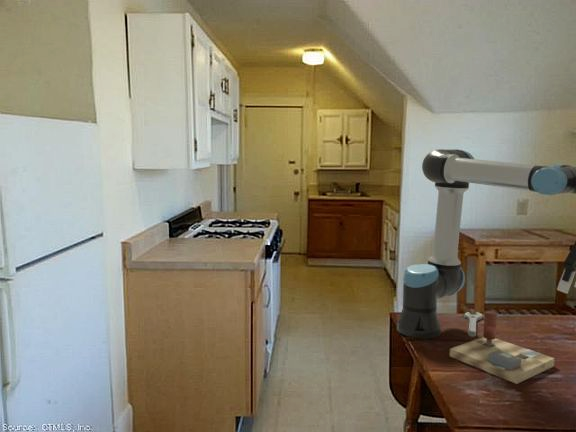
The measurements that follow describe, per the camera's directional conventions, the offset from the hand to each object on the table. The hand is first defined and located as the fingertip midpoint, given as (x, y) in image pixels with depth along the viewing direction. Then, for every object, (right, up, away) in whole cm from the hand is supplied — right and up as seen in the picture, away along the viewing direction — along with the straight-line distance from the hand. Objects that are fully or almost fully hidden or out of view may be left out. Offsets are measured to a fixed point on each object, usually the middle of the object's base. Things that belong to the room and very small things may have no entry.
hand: (570, 290), depth 140 cm
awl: (-19, -22, +13) cm, 32 cm away
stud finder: (-20, -21, -2) cm, 29 cm away
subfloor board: (-18, -23, +6) cm, 30 cm away
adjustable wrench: (-15, -19, +38) cm, 45 cm away
